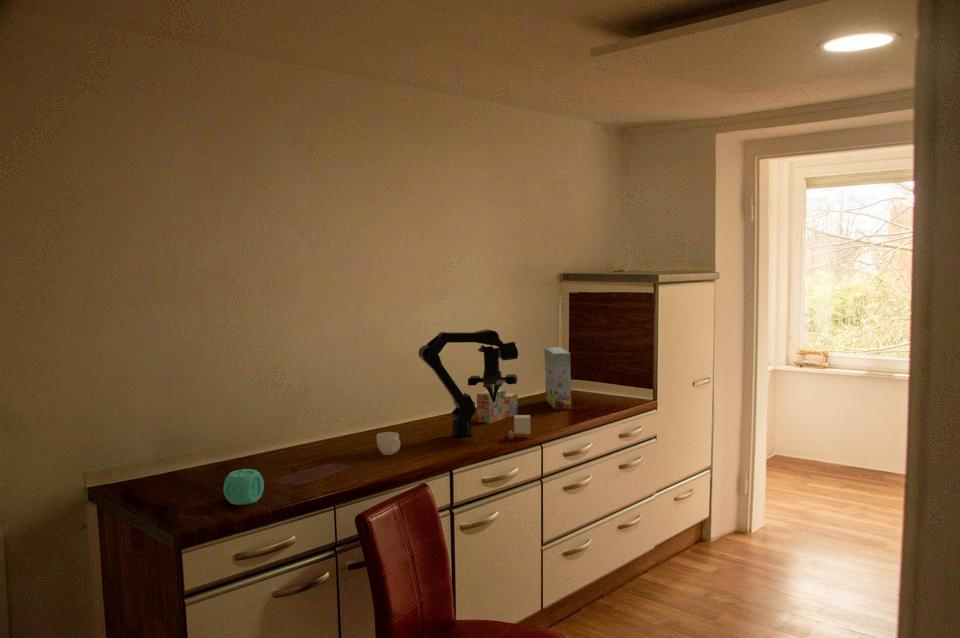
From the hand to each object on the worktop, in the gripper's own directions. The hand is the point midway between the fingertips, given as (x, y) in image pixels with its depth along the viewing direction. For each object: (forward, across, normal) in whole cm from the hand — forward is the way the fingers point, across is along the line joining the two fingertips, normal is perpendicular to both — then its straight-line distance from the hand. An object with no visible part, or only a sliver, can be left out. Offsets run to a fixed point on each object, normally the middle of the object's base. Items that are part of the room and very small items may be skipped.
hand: (494, 401), depth 289 cm
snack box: (+16, +20, +58) cm, 63 cm away
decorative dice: (+5, -58, -92) cm, 109 cm away
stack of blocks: (+14, -3, +26) cm, 30 cm away
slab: (+10, +11, -7) cm, 17 cm away
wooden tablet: (+8, -48, -64) cm, 81 cm away
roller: (+11, +8, -7) cm, 15 cm away
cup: (+9, -32, -37) cm, 50 cm away
